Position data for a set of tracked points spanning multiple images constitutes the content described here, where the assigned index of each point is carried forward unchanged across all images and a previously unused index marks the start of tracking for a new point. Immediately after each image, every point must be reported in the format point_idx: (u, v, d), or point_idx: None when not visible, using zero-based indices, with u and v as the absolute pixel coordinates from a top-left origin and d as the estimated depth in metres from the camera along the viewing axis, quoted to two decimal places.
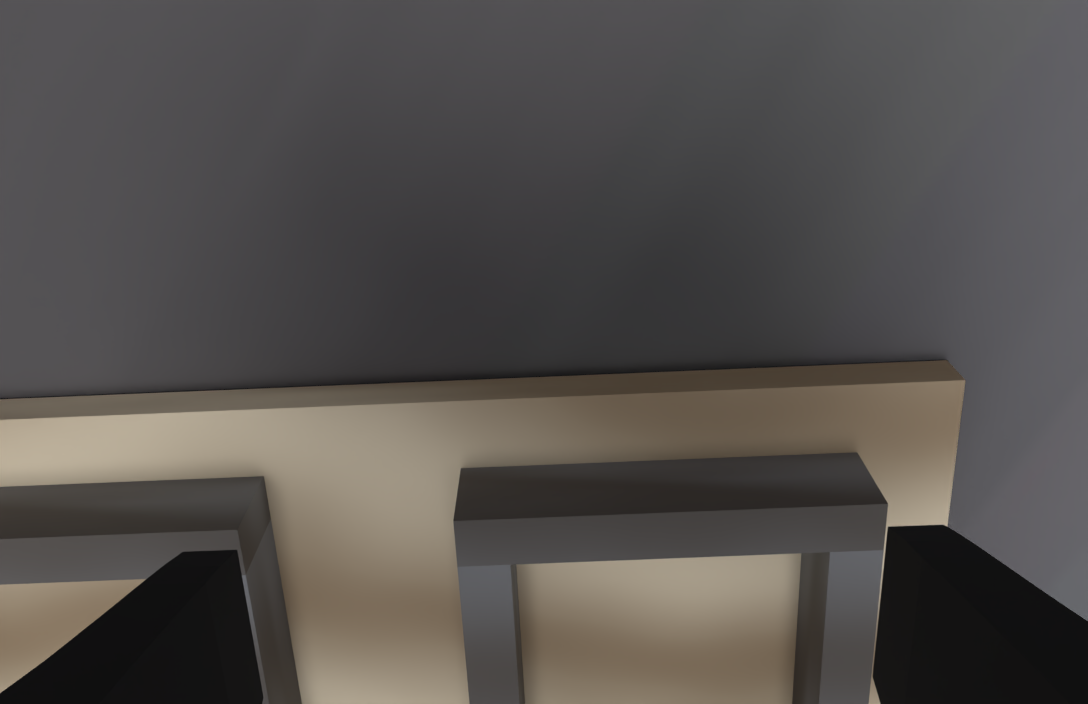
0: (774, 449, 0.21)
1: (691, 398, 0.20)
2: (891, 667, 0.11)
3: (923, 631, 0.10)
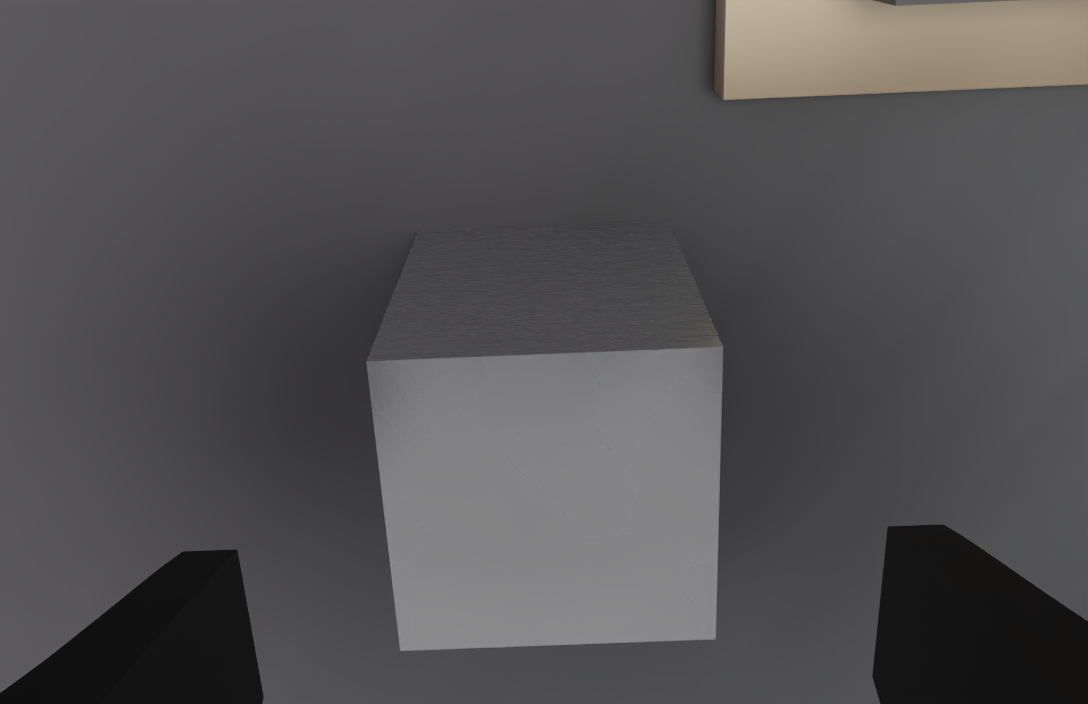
0: None
1: None
2: (891, 667, 0.11)
3: (923, 631, 0.10)
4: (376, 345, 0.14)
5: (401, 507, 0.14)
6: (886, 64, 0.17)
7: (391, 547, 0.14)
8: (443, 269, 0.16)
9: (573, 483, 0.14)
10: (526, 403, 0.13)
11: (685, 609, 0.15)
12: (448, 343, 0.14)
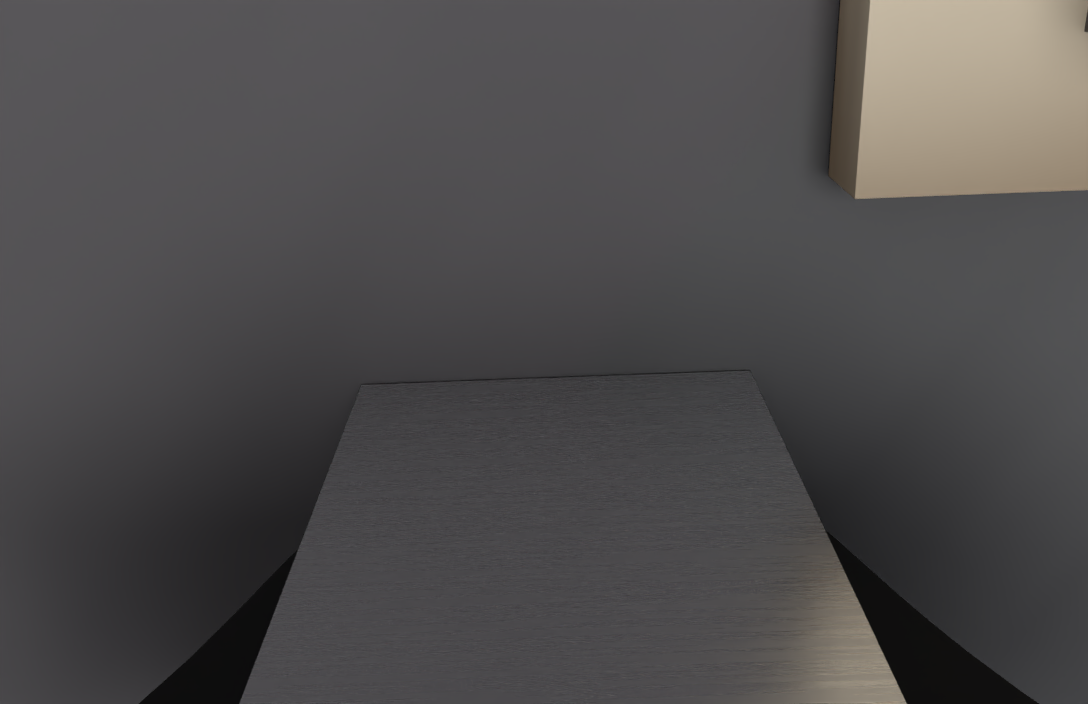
0: None
1: None
2: None
3: None
4: None
5: None
6: None
7: None
8: (392, 484, 0.10)
9: None
10: None
11: None
12: None
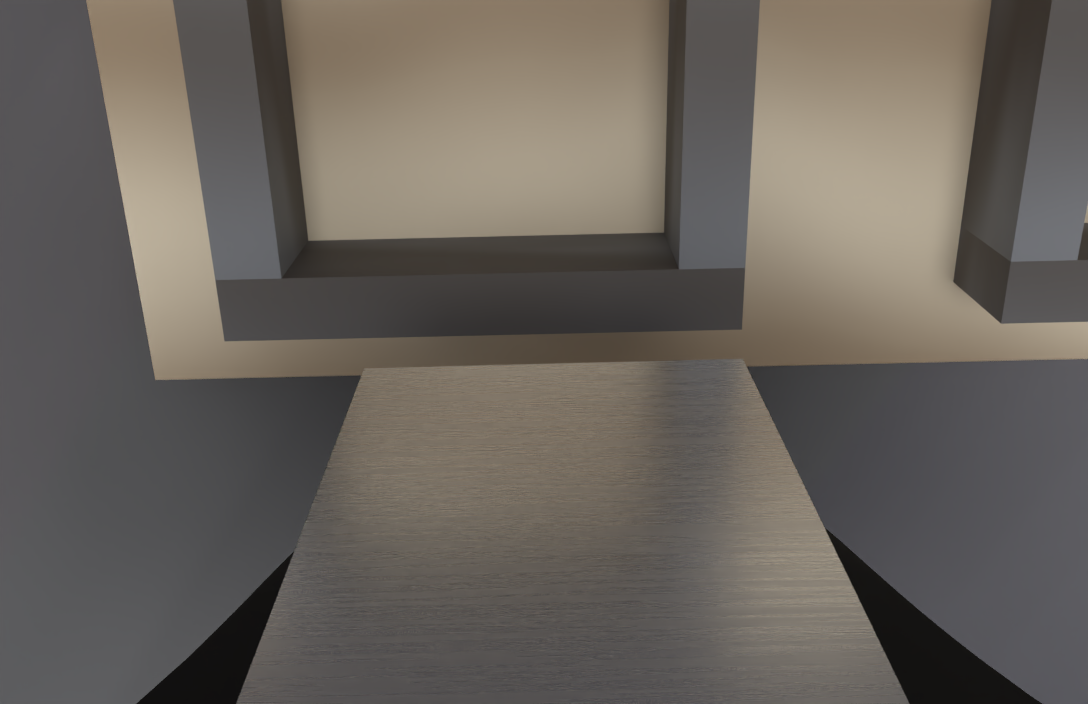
0: None
1: None
2: None
3: None
4: (254, 676, 0.07)
5: None
6: (296, 353, 0.18)
7: None
8: (395, 461, 0.10)
9: None
10: None
11: None
12: (387, 676, 0.07)
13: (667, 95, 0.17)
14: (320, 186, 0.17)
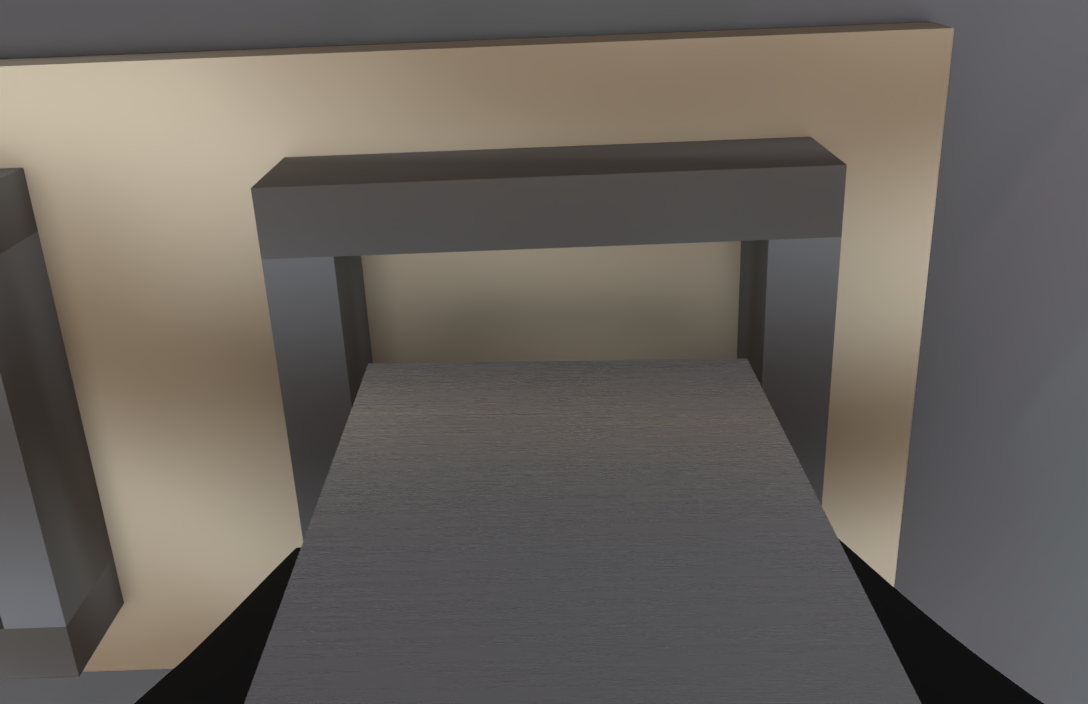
0: (700, 131, 0.16)
1: (587, 53, 0.15)
2: None
3: None
4: (264, 669, 0.07)
5: None
6: None
7: None
8: (401, 456, 0.10)
9: None
10: None
11: None
12: (397, 671, 0.07)
13: None
14: None
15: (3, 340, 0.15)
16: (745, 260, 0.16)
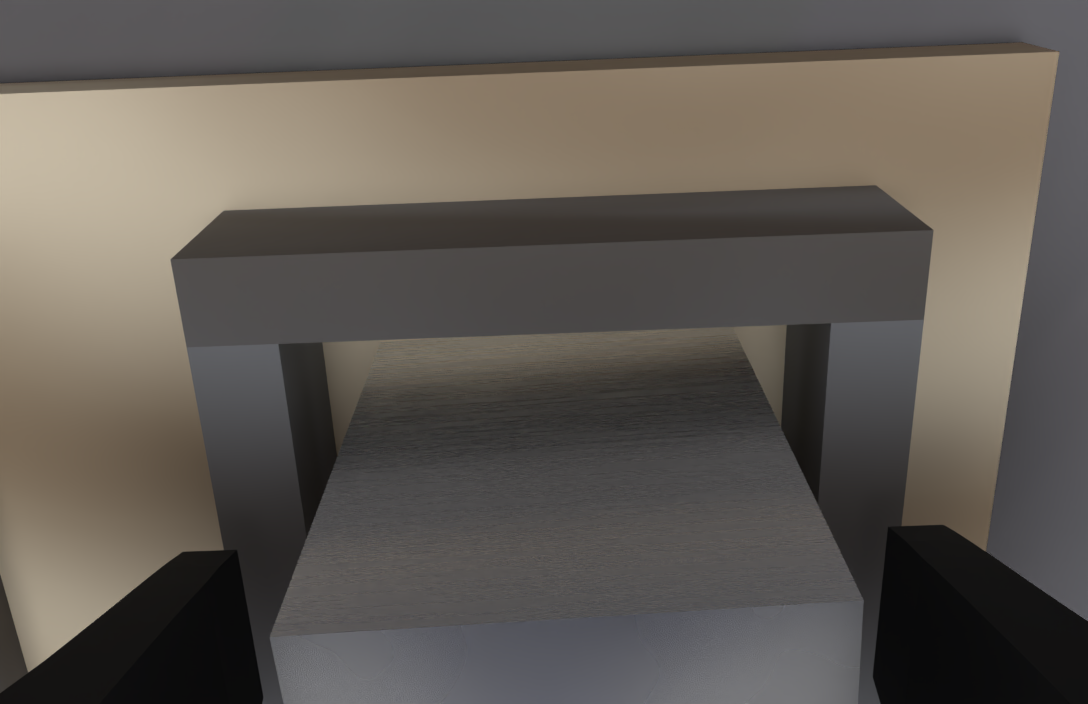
0: (740, 178, 0.13)
1: (599, 83, 0.12)
2: (891, 667, 0.11)
3: (923, 631, 0.10)
4: (291, 595, 0.08)
5: None
6: None
7: None
8: (410, 419, 0.11)
9: None
10: (537, 692, 0.08)
11: None
12: (405, 590, 0.08)
13: None
14: None
15: None
16: (794, 337, 0.13)
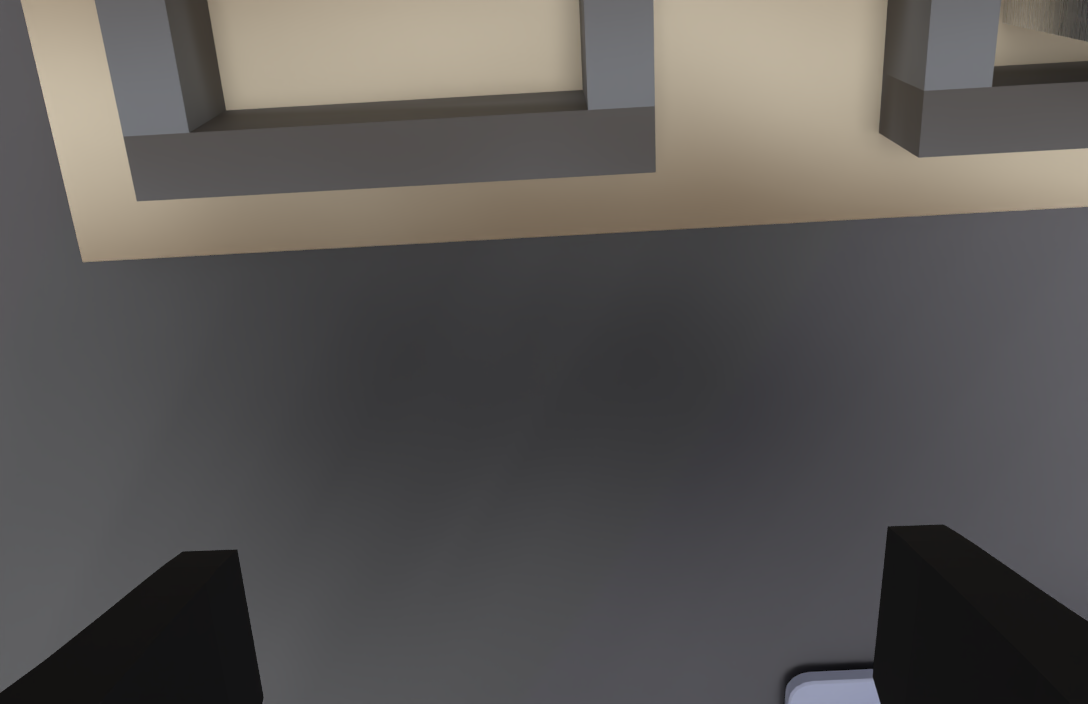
0: None
1: None
2: (891, 667, 0.11)
3: (923, 631, 0.10)
4: None
5: None
6: (222, 229, 0.18)
7: None
8: None
9: None
10: None
11: None
12: None
13: None
14: (235, 53, 0.17)
15: None
16: None
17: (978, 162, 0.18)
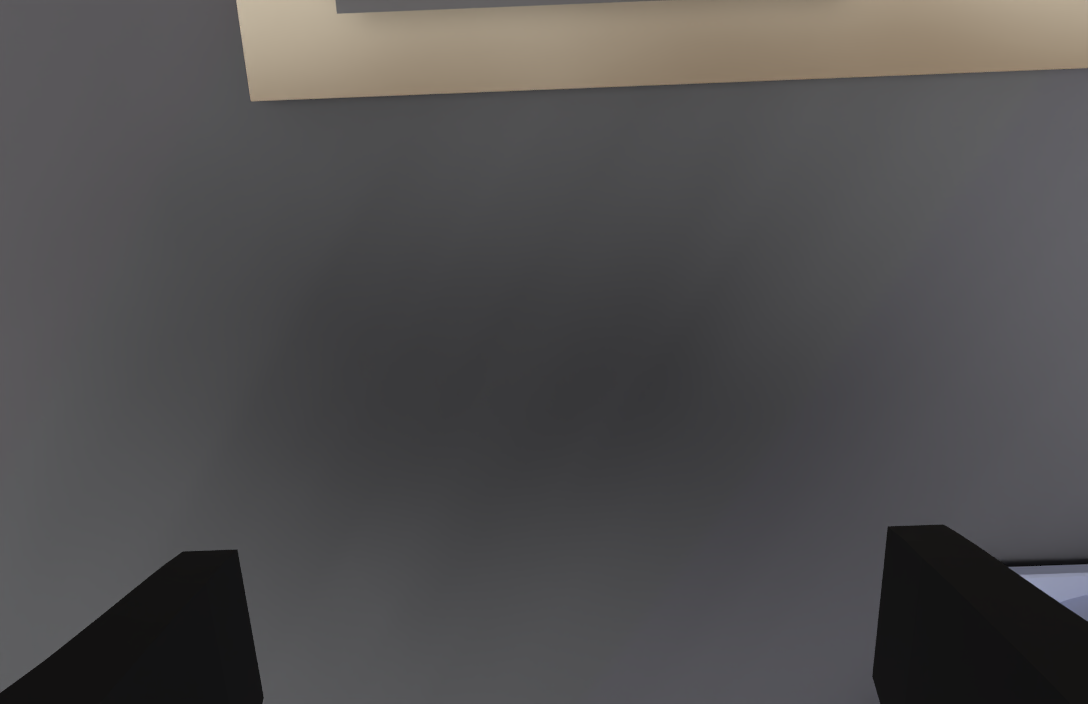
0: None
1: None
2: (891, 667, 0.11)
3: (923, 631, 0.10)
4: None
5: None
6: (399, 68, 0.17)
7: None
8: None
9: None
10: None
11: None
12: None
13: None
14: None
15: None
16: None
17: None
